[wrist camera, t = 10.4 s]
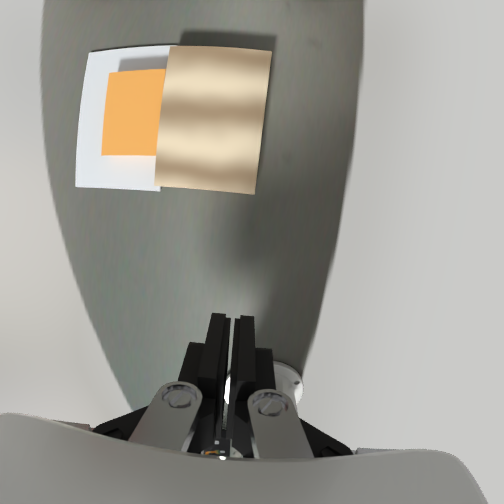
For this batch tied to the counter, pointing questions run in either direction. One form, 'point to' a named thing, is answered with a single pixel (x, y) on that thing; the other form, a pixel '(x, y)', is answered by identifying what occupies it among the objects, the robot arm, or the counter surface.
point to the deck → (212, 118)
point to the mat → (92, 116)
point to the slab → (132, 112)
